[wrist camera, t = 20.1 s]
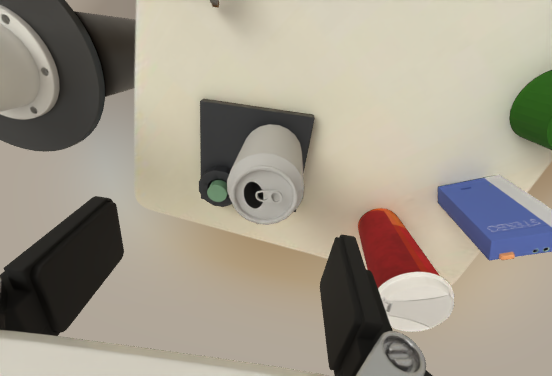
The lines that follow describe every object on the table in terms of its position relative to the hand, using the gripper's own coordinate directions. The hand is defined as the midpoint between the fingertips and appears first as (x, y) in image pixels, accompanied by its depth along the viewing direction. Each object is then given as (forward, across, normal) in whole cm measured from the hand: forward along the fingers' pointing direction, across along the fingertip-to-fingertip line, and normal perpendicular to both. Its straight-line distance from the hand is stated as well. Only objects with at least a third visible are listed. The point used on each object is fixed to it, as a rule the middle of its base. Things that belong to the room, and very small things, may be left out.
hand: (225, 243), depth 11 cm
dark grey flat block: (+25, +1, +7) cm, 26 cm away
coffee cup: (+25, -19, +14) cm, 35 cm away
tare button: (+23, +5, +11) cm, 26 cm away
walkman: (+25, -29, +6) cm, 39 cm away
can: (+24, -1, +5) cm, 25 cm away
